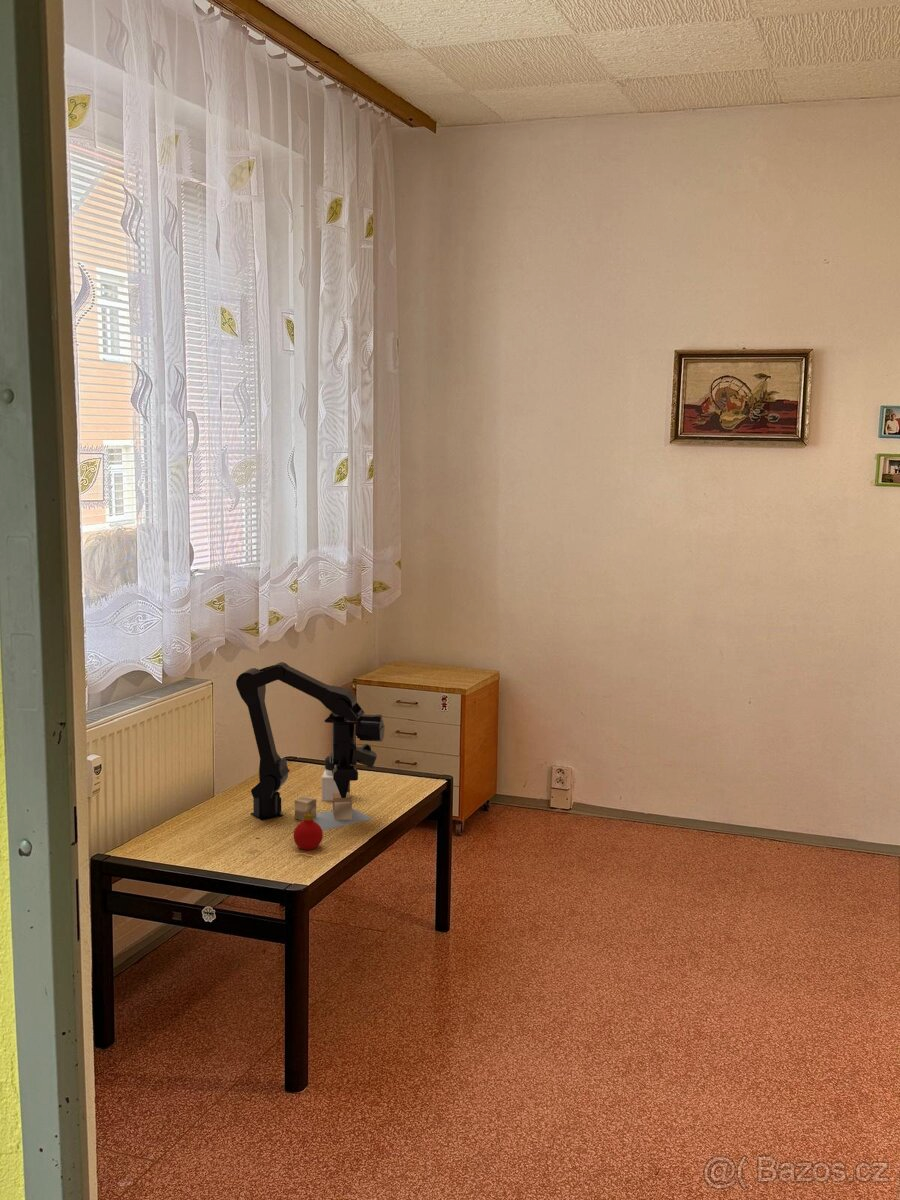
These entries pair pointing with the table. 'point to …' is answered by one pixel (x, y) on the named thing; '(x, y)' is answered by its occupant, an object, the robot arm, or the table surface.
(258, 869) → the table surface
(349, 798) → the walnut block
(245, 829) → the table surface
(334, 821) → the mat
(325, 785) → the medicine bottle
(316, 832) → the christmas ornament
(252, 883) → the table surface
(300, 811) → the maple block
